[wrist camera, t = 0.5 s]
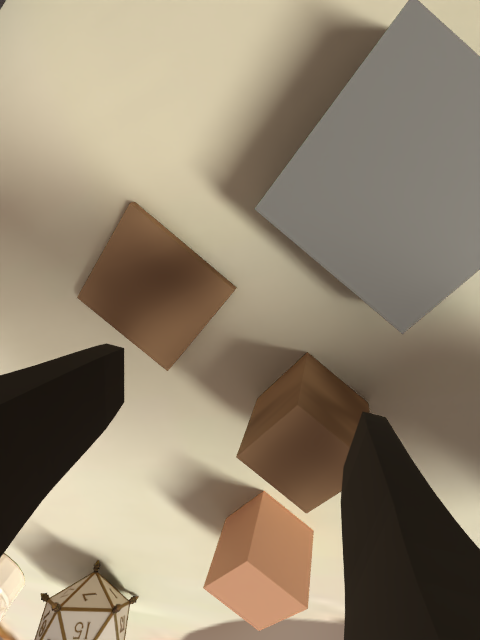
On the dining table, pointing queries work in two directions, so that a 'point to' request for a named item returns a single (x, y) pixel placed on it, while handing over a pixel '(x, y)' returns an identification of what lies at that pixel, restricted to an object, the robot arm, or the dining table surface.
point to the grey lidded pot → (85, 611)
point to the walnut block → (303, 433)
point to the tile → (154, 287)
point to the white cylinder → (9, 583)
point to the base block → (393, 173)
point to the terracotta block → (262, 563)
